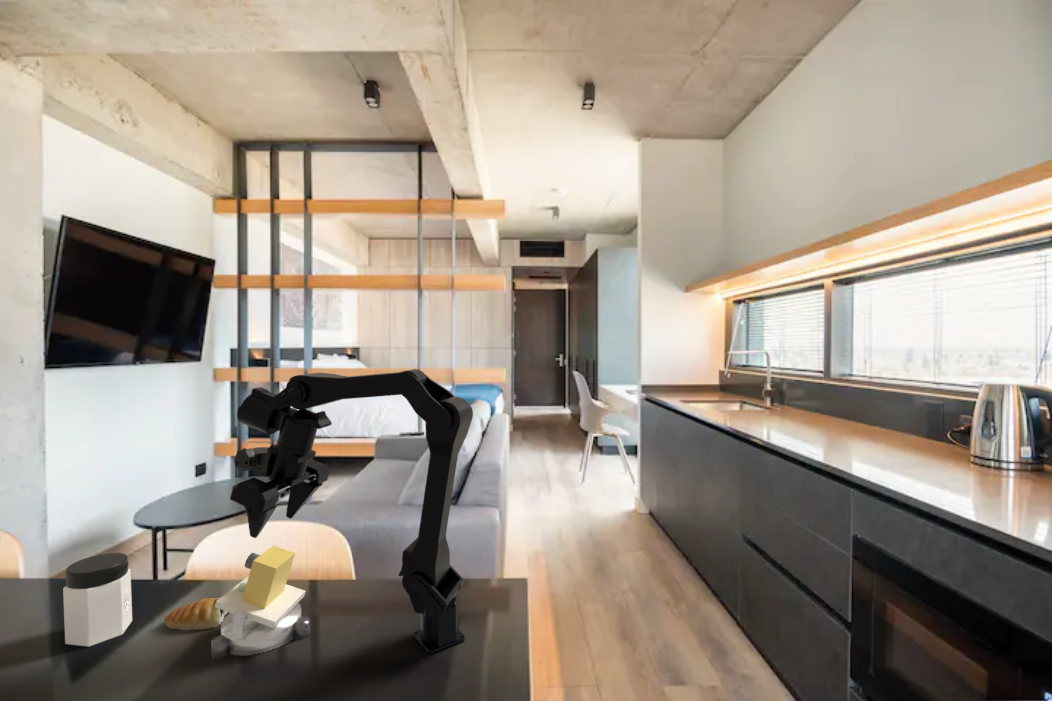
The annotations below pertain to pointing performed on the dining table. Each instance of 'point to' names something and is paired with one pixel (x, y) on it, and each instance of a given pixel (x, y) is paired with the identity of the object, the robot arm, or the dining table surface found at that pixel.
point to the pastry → (196, 616)
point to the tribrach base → (257, 634)
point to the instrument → (264, 588)
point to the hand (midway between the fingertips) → (272, 526)
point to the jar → (97, 599)
